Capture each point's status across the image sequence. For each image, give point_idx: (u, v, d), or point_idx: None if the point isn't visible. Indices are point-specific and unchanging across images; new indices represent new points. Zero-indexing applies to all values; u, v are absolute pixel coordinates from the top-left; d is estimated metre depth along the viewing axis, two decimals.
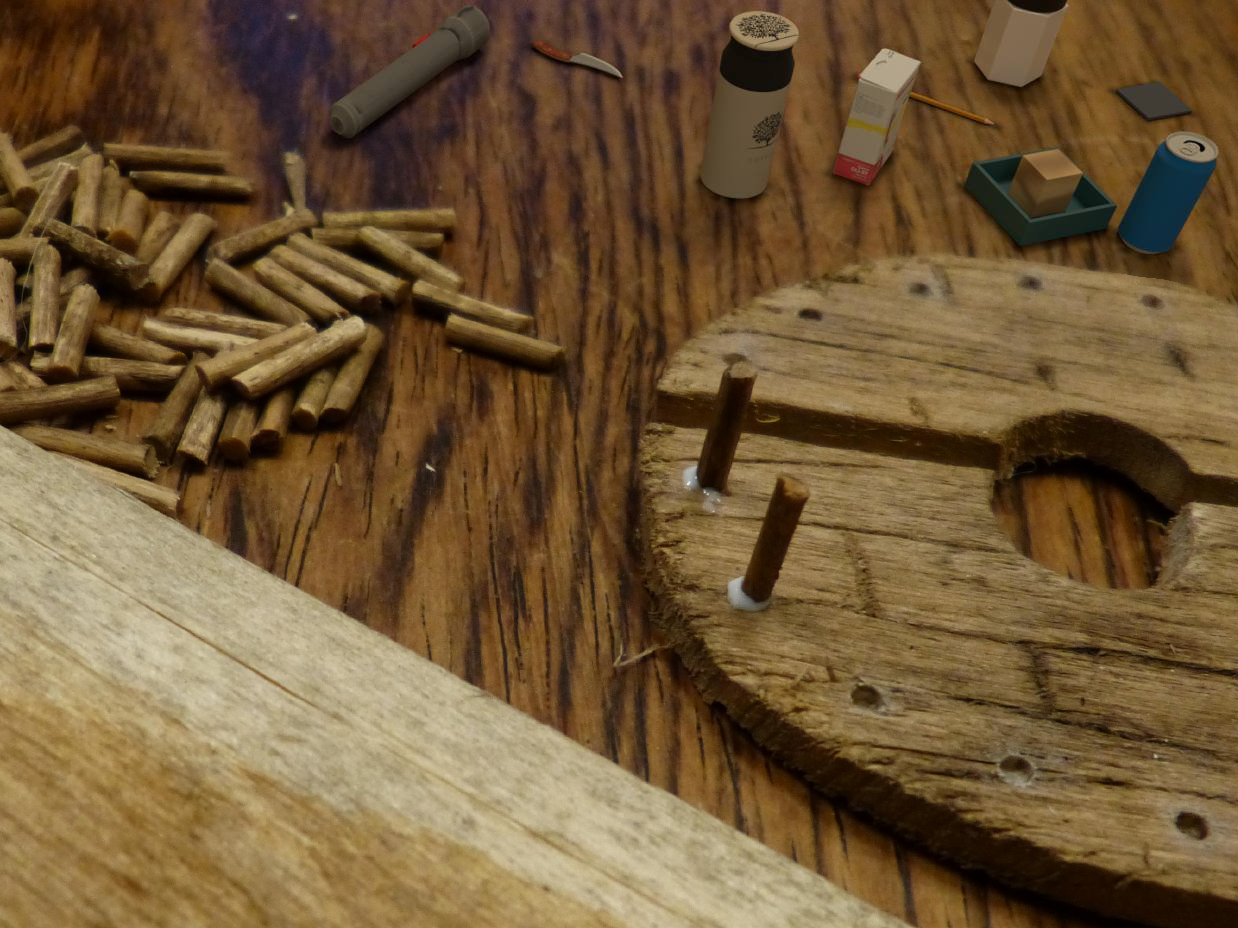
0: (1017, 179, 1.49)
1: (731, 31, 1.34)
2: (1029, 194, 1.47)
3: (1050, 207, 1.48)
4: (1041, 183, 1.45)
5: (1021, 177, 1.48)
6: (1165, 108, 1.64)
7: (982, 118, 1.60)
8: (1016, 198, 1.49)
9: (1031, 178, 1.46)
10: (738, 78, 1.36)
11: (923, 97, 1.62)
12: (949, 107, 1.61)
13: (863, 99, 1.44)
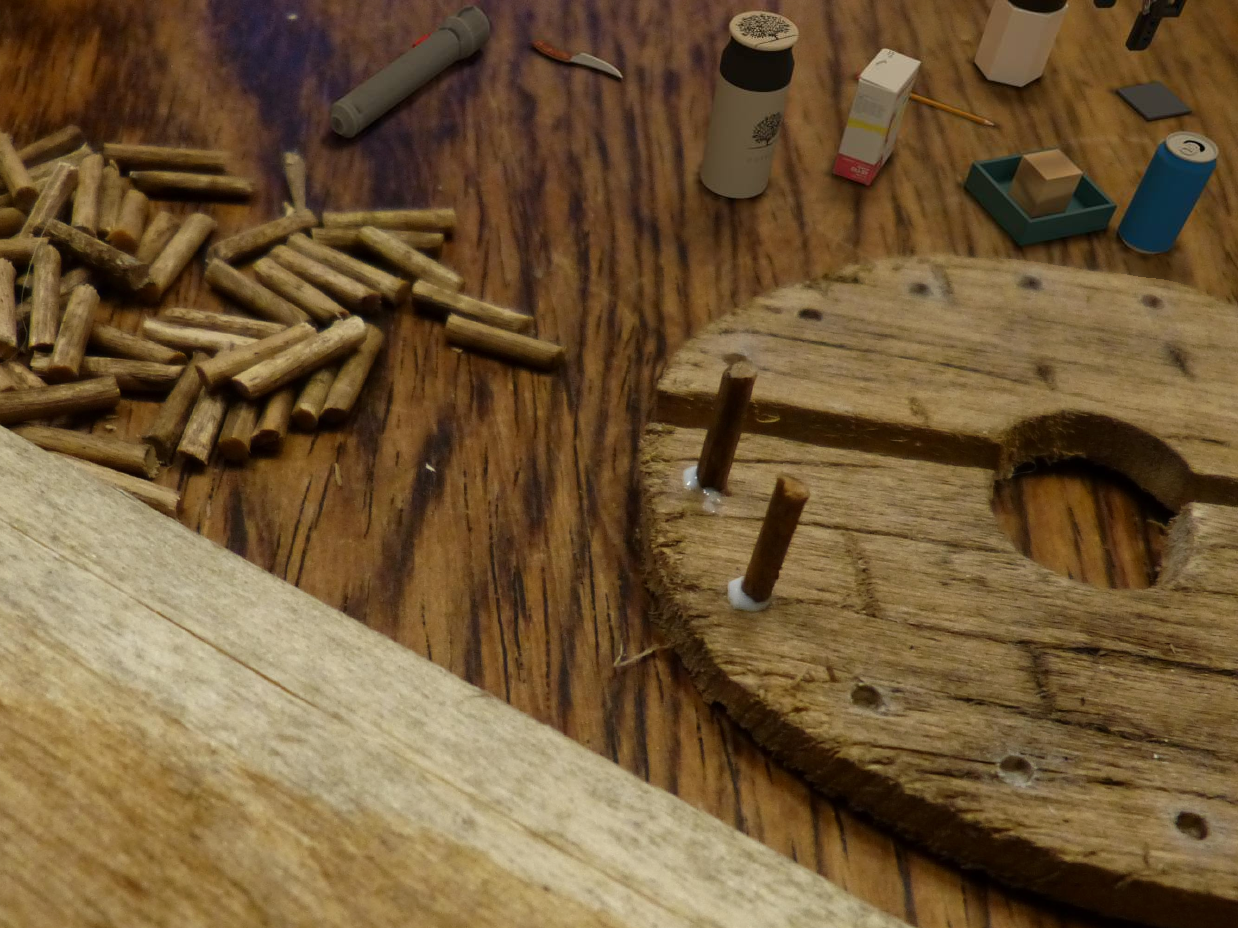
0: (1017, 179, 1.49)
1: (731, 31, 1.34)
2: (1029, 194, 1.47)
3: (1050, 207, 1.48)
4: (1041, 183, 1.45)
5: (1021, 177, 1.48)
6: (1165, 108, 1.64)
7: (982, 119, 1.60)
8: (1016, 198, 1.49)
9: (1031, 178, 1.46)
10: (738, 78, 1.36)
11: (923, 98, 1.62)
12: (949, 108, 1.61)
13: (863, 99, 1.44)
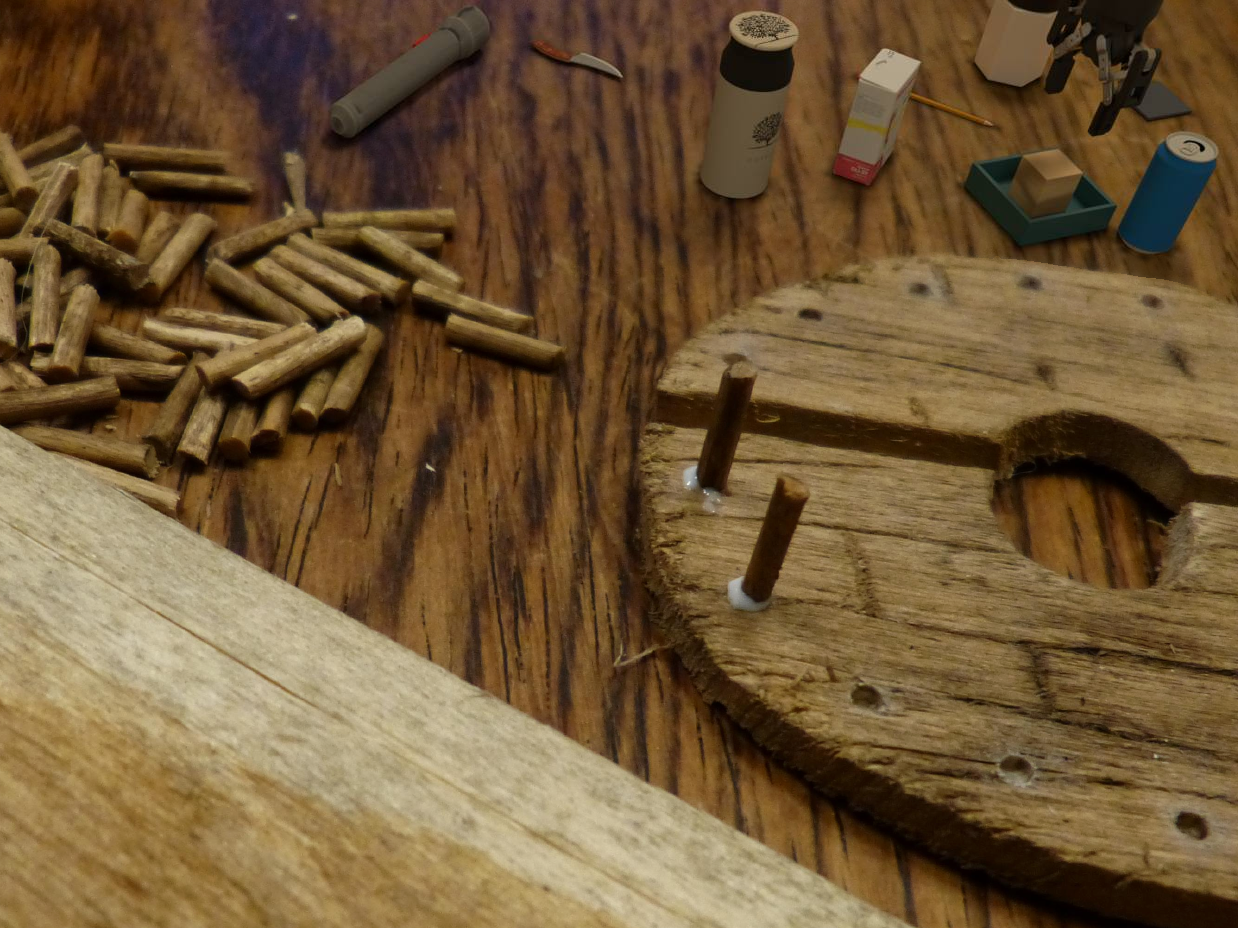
0: (1017, 179, 1.49)
1: (731, 31, 1.34)
2: (1029, 194, 1.47)
3: (1050, 207, 1.48)
4: (1041, 183, 1.45)
5: (1021, 177, 1.48)
6: (1165, 108, 1.64)
7: (981, 119, 1.60)
8: (1016, 198, 1.49)
9: (1031, 178, 1.46)
10: (738, 78, 1.36)
11: (923, 98, 1.62)
12: (948, 108, 1.61)
13: (863, 99, 1.44)
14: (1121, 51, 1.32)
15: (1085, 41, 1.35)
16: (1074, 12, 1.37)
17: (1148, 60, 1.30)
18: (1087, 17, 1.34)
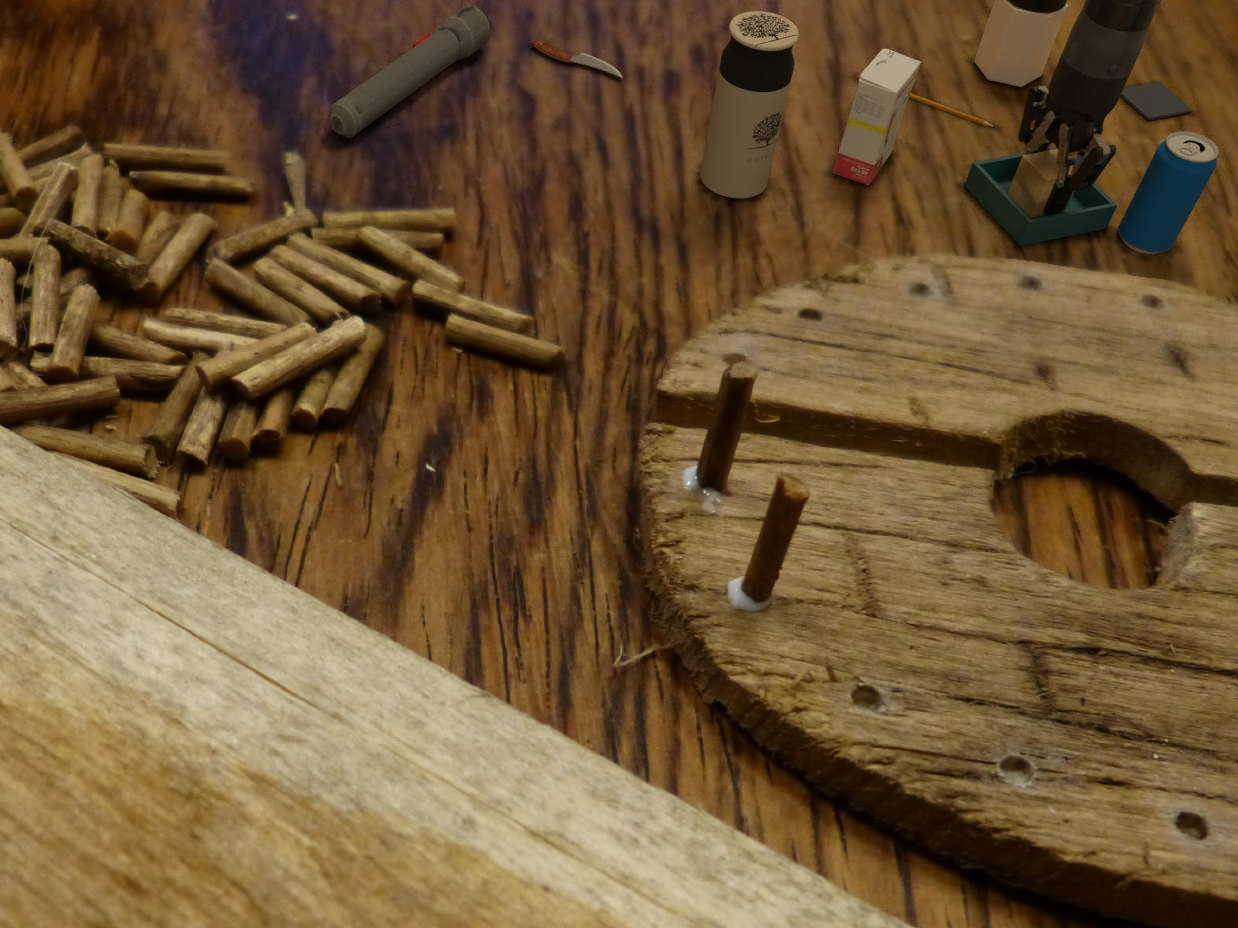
0: (1017, 179, 1.49)
1: (731, 31, 1.34)
2: (1029, 194, 1.47)
3: None
4: (1041, 183, 1.45)
5: (1021, 177, 1.48)
6: (1165, 108, 1.64)
7: (981, 120, 1.60)
8: (1016, 198, 1.49)
9: (1031, 178, 1.46)
10: (738, 78, 1.36)
11: (922, 98, 1.62)
12: (948, 109, 1.61)
13: (863, 99, 1.44)
14: (1082, 139, 1.39)
15: None
16: (1040, 107, 1.45)
17: (1102, 157, 1.38)
18: (1051, 105, 1.42)
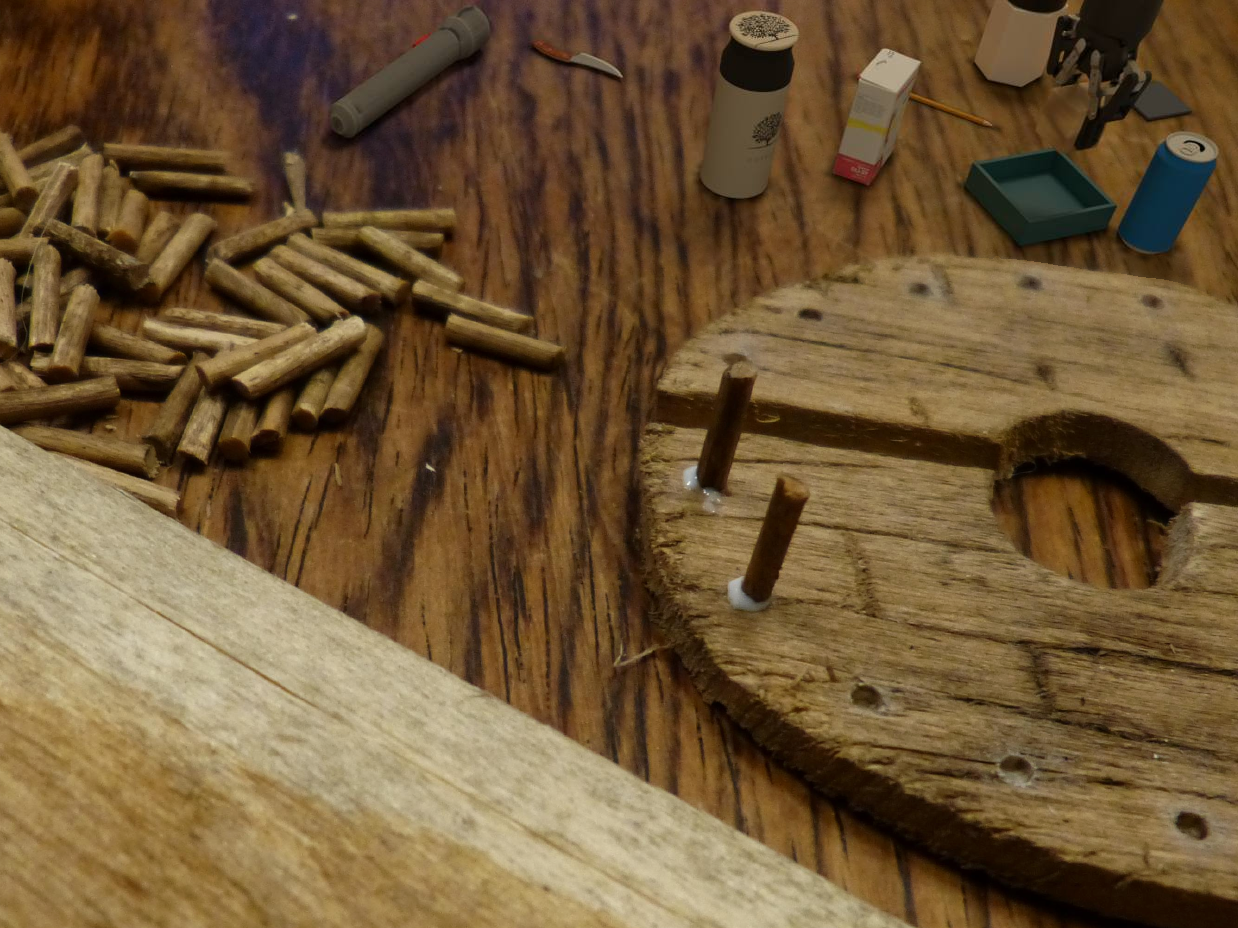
0: (1045, 114, 1.42)
1: (731, 31, 1.34)
2: (1058, 129, 1.40)
3: None
4: (1072, 116, 1.38)
5: (1050, 111, 1.41)
6: (1165, 108, 1.64)
7: (981, 120, 1.60)
8: (1044, 134, 1.43)
9: (1061, 111, 1.39)
10: (738, 78, 1.36)
11: (922, 98, 1.62)
12: (948, 108, 1.61)
13: (863, 99, 1.44)
14: (1116, 66, 1.33)
15: None
16: (1069, 36, 1.38)
17: (1137, 84, 1.31)
18: (1081, 33, 1.36)
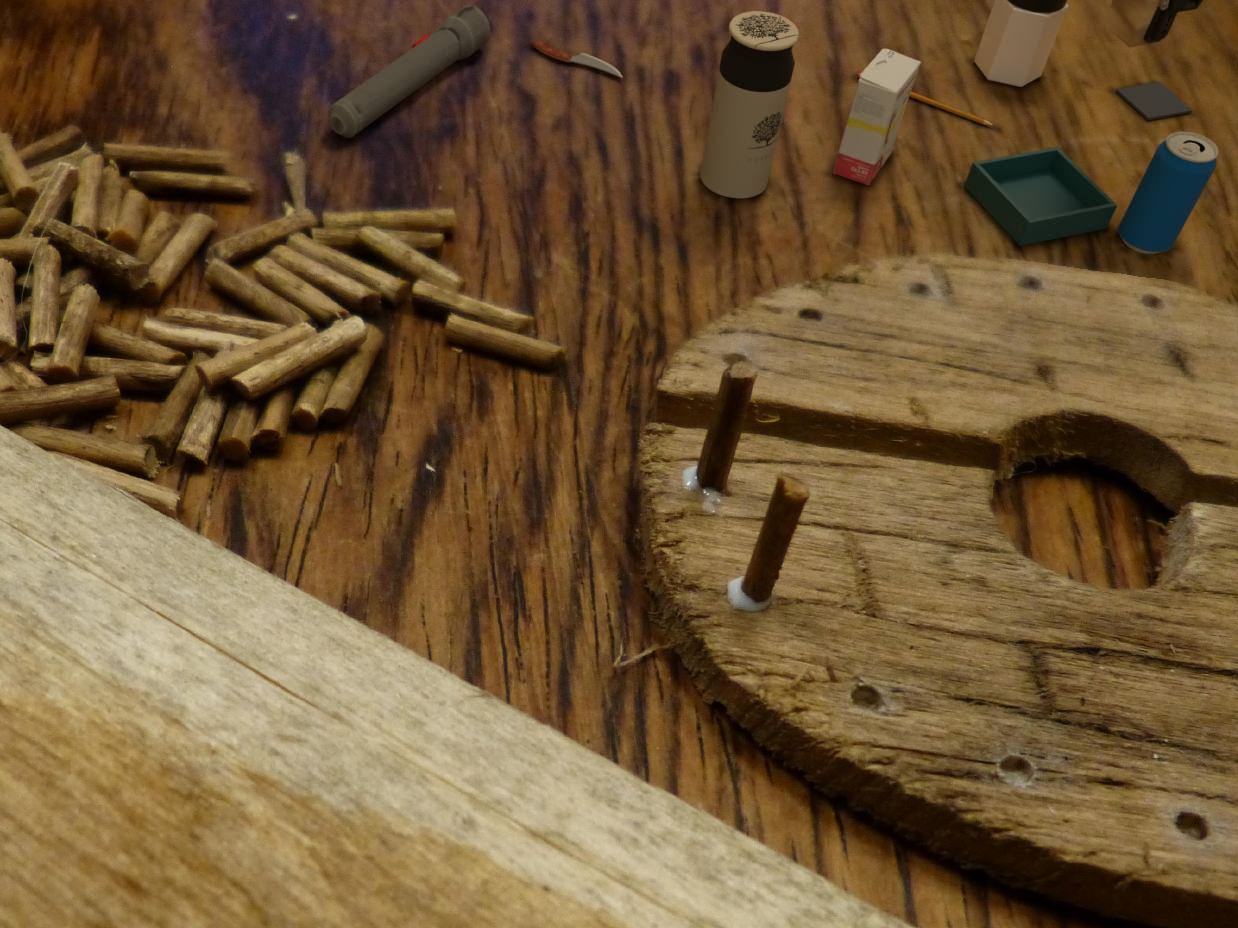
0: (1114, 7, 1.40)
1: (731, 31, 1.34)
2: (1128, 21, 1.39)
3: None
4: (1143, 6, 1.37)
5: (1119, 3, 1.39)
6: (1165, 108, 1.64)
7: (981, 119, 1.60)
8: (1113, 28, 1.41)
9: (1131, 2, 1.38)
10: (738, 78, 1.36)
11: (923, 97, 1.62)
12: (948, 107, 1.61)
13: (863, 99, 1.44)
14: None
15: None
16: None
17: None
18: None
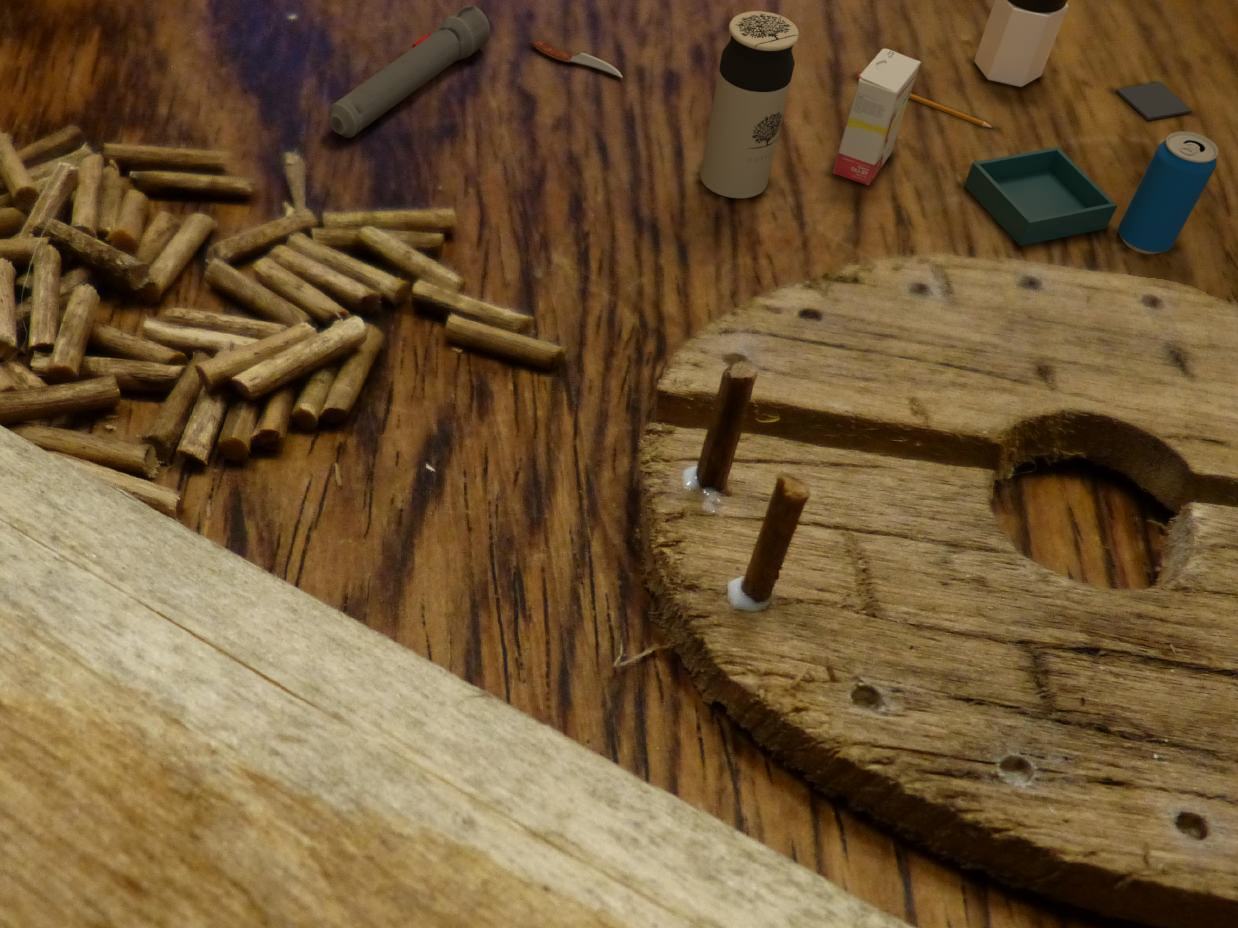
0: None
1: (731, 31, 1.34)
2: None
3: None
4: None
5: None
6: (1165, 108, 1.64)
7: (980, 121, 1.60)
8: None
9: None
10: (738, 78, 1.36)
11: (922, 99, 1.62)
12: (947, 109, 1.61)
13: (863, 99, 1.44)
14: None
15: None
16: None
17: None
18: None
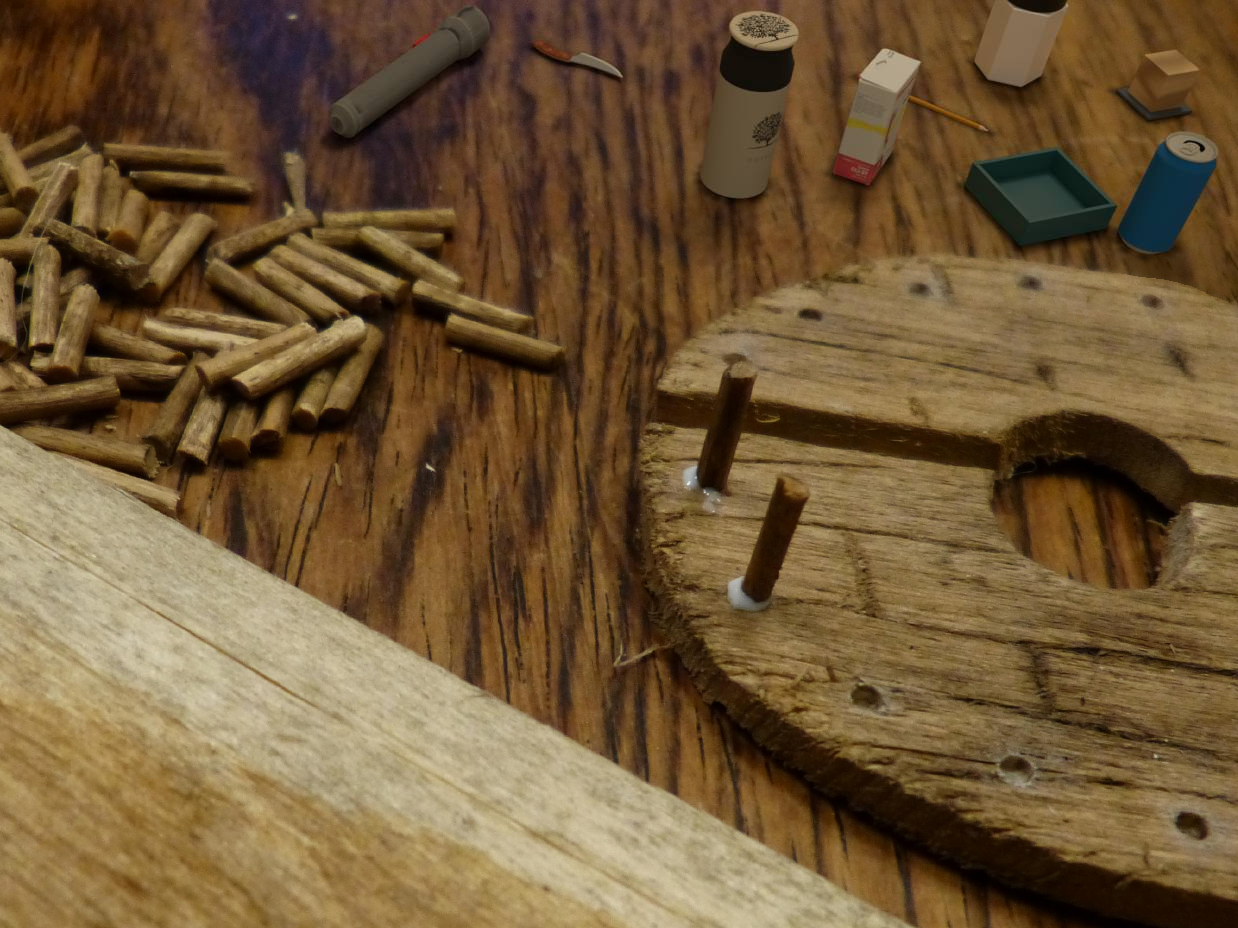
0: (1138, 78, 1.64)
1: (731, 31, 1.34)
2: (1149, 90, 1.63)
3: (1168, 102, 1.63)
4: (1162, 78, 1.61)
5: (1142, 75, 1.63)
6: None
7: (977, 124, 1.59)
8: (1136, 95, 1.65)
9: (1152, 75, 1.62)
10: (738, 78, 1.36)
11: (920, 100, 1.62)
12: (945, 112, 1.61)
13: (863, 99, 1.44)
14: None
15: None
16: None
17: None
18: None
